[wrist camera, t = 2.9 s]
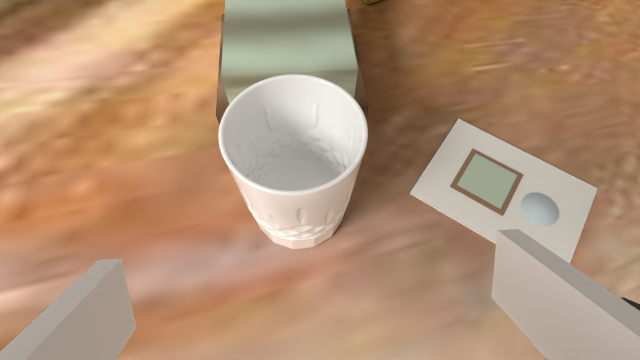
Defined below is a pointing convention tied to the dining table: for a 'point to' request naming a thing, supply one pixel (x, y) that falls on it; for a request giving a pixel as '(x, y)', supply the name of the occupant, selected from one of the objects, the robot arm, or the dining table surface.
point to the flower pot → (370, 1)
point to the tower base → (287, 46)
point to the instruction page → (504, 190)
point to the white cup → (294, 155)
